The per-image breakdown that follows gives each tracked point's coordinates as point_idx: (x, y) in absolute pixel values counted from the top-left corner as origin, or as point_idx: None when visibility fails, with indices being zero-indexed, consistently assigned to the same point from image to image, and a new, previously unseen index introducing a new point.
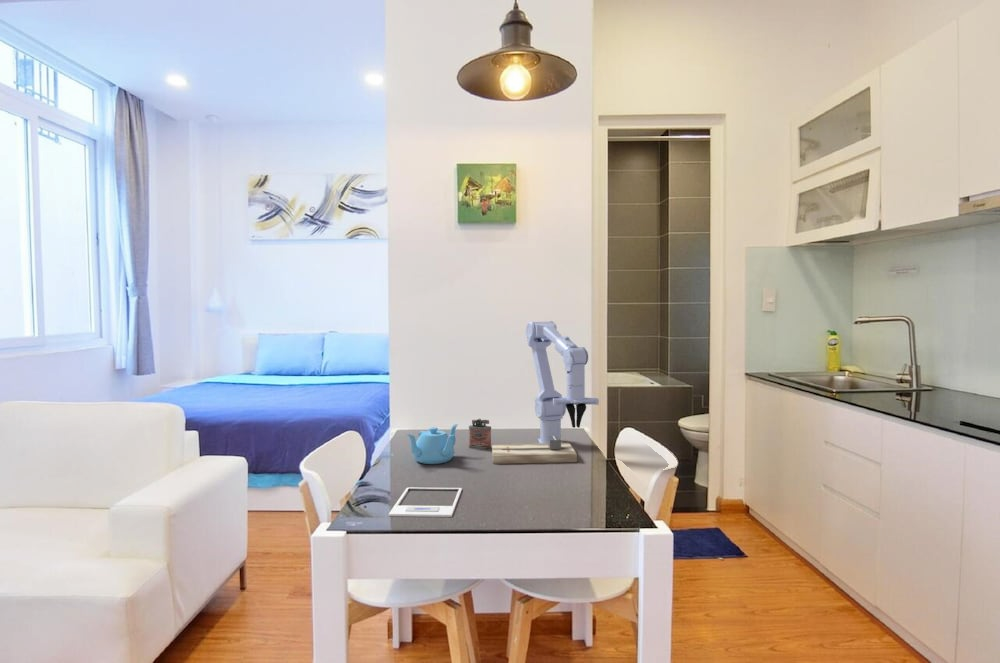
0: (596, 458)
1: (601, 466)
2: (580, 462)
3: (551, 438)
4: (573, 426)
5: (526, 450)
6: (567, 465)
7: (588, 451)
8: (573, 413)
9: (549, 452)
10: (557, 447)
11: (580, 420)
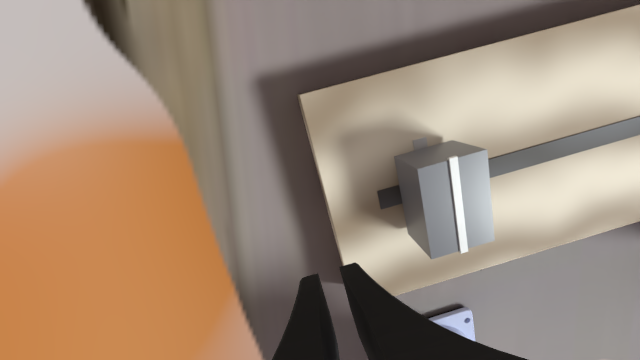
0: (205, 181)
1: (157, 34)
2: (278, 93)
3: (476, 193)
4: (356, 264)
5: (566, 118)
6: (340, 23)
7: (258, 286)
8: (406, 345)
9: (452, 100)
10: (417, 153)
11: (295, 316)
